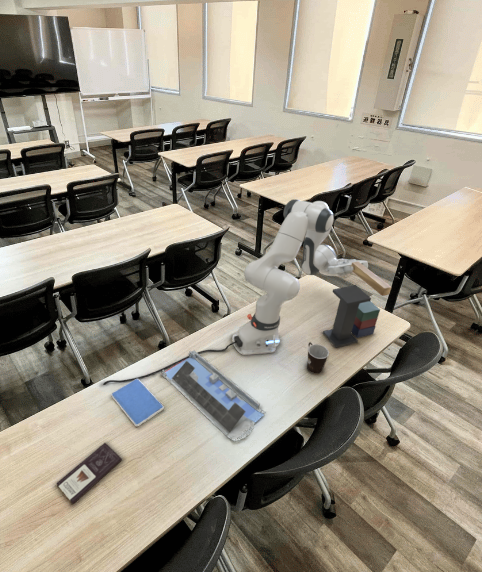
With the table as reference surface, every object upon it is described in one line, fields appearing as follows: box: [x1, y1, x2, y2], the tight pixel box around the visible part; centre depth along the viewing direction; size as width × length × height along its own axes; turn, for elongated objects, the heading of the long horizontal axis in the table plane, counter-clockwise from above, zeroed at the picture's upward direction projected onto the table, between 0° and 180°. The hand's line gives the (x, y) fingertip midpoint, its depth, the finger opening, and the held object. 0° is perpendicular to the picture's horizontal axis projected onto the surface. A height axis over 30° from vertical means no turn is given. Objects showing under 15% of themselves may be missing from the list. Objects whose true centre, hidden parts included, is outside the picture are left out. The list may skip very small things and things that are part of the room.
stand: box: [322, 284, 372, 349], centre depth 165 cm, size 12×11×26 cm
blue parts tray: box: [160, 350, 267, 442], centre depth 141 cm, size 18×45×6 cm, turn 44°
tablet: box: [110, 379, 165, 428], centre depth 138 cm, size 19×13×1 cm, turn 43°
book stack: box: [351, 300, 381, 339], centre depth 175 cm, size 10×15×15 cm, turn 19°
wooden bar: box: [351, 262, 392, 297], centre depth 163 cm, size 4×23×4 cm, turn 19°
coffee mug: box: [306, 342, 330, 375], centre depth 154 cm, size 12×9×10 cm
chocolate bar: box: [56, 442, 123, 505], centre depth 115 cm, size 9×1×18 cm
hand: (358, 267), depth 170 cm, fingers closed on wooden bar, 3 cm apart
